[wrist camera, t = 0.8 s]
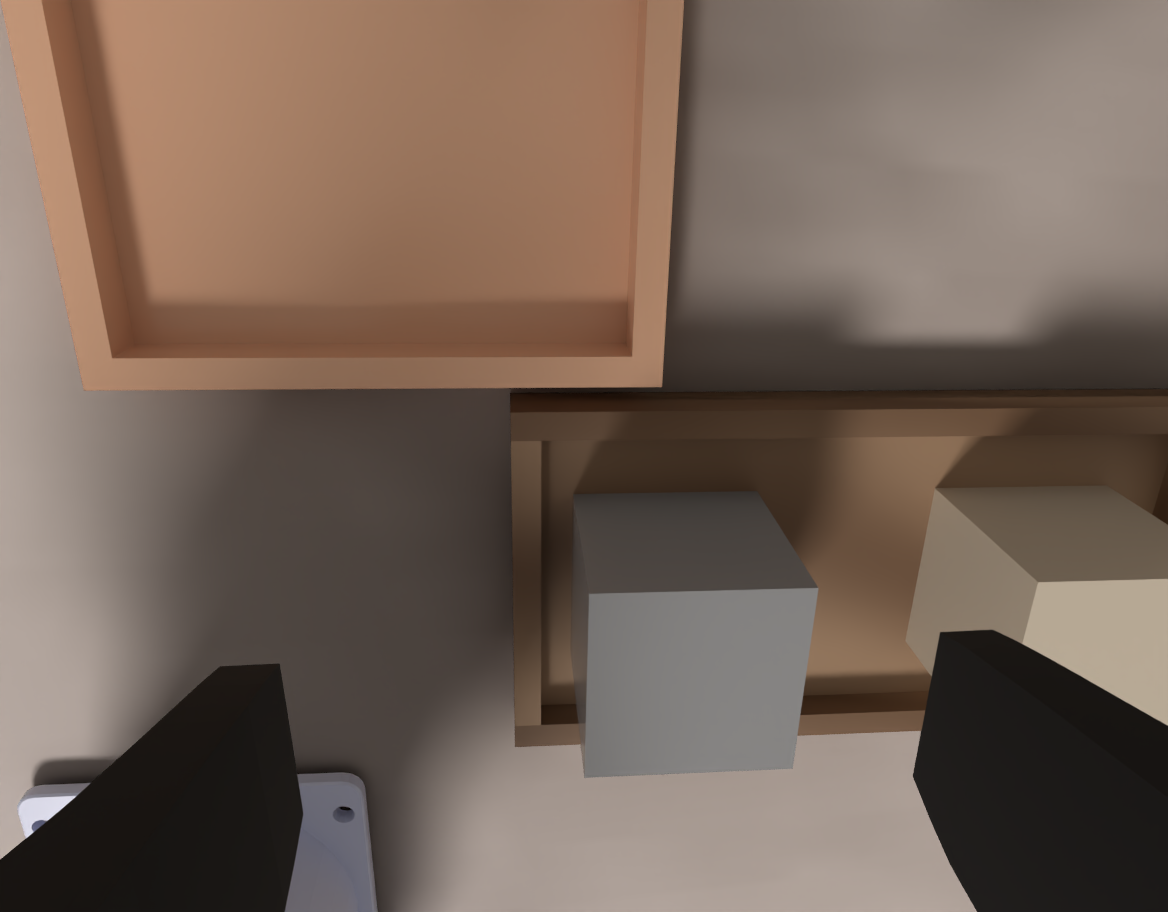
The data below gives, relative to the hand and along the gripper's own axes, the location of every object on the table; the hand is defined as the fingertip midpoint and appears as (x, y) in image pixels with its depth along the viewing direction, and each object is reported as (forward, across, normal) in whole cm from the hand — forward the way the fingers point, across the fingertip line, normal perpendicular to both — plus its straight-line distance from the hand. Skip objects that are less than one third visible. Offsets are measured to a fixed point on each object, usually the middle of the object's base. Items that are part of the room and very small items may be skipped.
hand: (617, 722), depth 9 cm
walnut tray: (+10, -6, +4) cm, 12 cm away
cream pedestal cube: (+9, -10, +4) cm, 14 cm away
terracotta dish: (+9, +3, -7) cm, 12 cm away
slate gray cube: (+9, -2, +3) cm, 10 cm away
